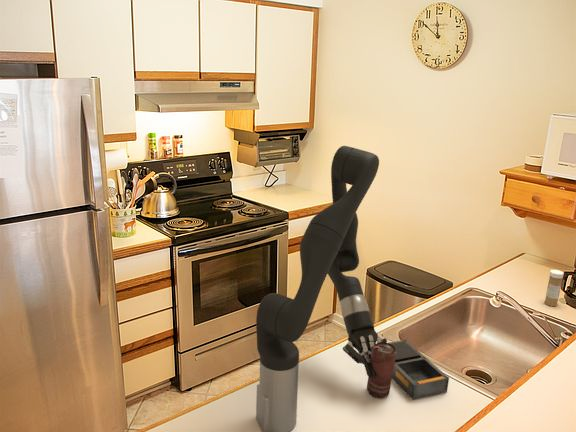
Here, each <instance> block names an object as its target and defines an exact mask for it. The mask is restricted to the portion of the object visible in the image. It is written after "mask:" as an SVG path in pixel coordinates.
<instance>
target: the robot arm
mask: <svg viewBox="0 0 576 432" xmlns="http://www.w3.org/2000/svg"><path fill="white" fill-rule="evenodd" d="M379 166H380V159H379V156H378V155H377V154H375V153H372V152H370V151H367V150H363V149H359V148H356V147H352V146H349V145H341V146H339V147H338V148H337V150H336V151H335V153H334V156H333V158H332V161H331V167H330V180H331V181H330V182H331V196H332V204H330V205H329V206H327V207H326V208H324V209H322V210H321V211H319V212H318V213H316V215H314V216H313V217H312V218H311V220H310V221H309V224H308V226H307V227H306V229H305V232H304V233H303V236H302V238H301V239H300V243H299V257H300V264H301V265H300V267H301V280H300V283H299V287H298V289H297V292H296V294H295V296H294V298H291V297H289V296H286V295H283V294H280V293H277V292H272V293H268V294H266V295H265V296H264V297H263V298H262V299H261V301H260V303H259V305H258V306H257V310H256V319H255V325H256V327H255V329H256V348H257V352H258V354H259V382H258V383H259V384H257V385H256V402H255V403H256V405H255V406H256V408H255V410H256V412H255V413H256V414H255V418H256V421H257V422H258V425H259V427H260V429H261V431H262V432H291V431H293V430H294V429H295V427H296V424H297V415H298V388H299V368H300V367H299V366H300V364H299V363H300V350H299V348H298V346H297V345H296V344H295V343H294V342H296V341H298V340H299V339H300V338H301V336H302V335H303V334H304V332H305V330H307V329H306V328H307V326H308V324H309V322H310V320H311V317H312V314H313V312H314V309H315V306H316V303H317V300H318V297H319V295H320V292H321V289H322V286H323V284H324V283H325V281H326V279H327V276H328V277H329V279H330V280H331V282H332V284H333V286H334V288H335V291H336V293H337V297H338V301H339V305H340V310H341V311H340V312H341V315H342V318H343V322H344V326H345V330H346V333H347V335H348V337H347V343H346V344H345V345H344V346H343V347H342V351H344V353H346V354H347V355H348V356H349V357H350V358H351V359H352V360H353V361H354V362H356V363H357V364H362V365H363V366H364V368H365V369H364V370H365V373H366V376H367V378H368V377H370V379H372V378H376V377H378V374H377V373H376V371H375V372H374V369H373V365H372V363H371V354H372V349H373V347H374V346H375V344H376V343H379V342H386V343H388V339H387V338H385V337H384V338H382V337H380V336H379V335H378V332H377V331H376V330H375V325H374V322H373V319H372V315H371V311H370V308H369V305H368V302H367V300H366V298H365V295H364V292H363V288H362V285H361V281H360V280H359V278H358V277H356V276H351V275H345V274H343V273H346V272H347V273H348V272H353V271H355V270H356V269H357V268H358V267H359V264H360V257H359V252H358V246H357V236H358V235H357V234H358V230H359V229H358V228H359V220H358V214H357V211H358V209H359V207H360V206H361V203H362V202H363V200H364V198H365V197H366V195H367V193H368V191H369V189H370V188H371V186H372V184H373V183H374V180H375V178H376V176H377V173H378V170H379ZM347 185H350V186H351V187H350V188H349V189H347Z"/></svg>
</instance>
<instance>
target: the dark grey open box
mask: <svg viewBox="0 0 576 432" xmlns="http://www.w3.org/2000/svg"><path fill="white" fill-rule="evenodd" d="M388 343H389V344H392V345H393V346H394V347H395V349H396V353H397V354H396V359H395V365H394V370H393V376H392V380H393V381H394V382H395V383H396V384H397V386H399V388H401V389H402V391H404V393H405V394H406V395H407V396H408V397H409V398H410V399H411V400H412V401H414V400H420V399H423V398H429V397H432V396H436V395H440V394H441V395H442V394H445V393H448V387H449V381H450V377H449V376H448V375H447V374H446V373H444V372H443V371H442V370H441V369H439V368H438V367H437V366H436V365H435V364H434V363H433V362H431V360H430V359H428V358H427V357H426V356H425V355H424V354H422V353H421V351H419V350H418V349H417V348H416V347H415V346H413V345H412V344H411V343H410V342H409V341H408V340H407V339H403V340H397V341H391V342H388Z"/></svg>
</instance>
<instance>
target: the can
mask: <svg viewBox="0 0 576 432" xmlns="http://www.w3.org/2000/svg"><path fill="white" fill-rule="evenodd" d="M389 343H390V342H387V343H386V342H379V343H377V342H376V344H375V346H374V347H373V349H372V354H371V363H372V365H373V369H374V372H375V371H376V373H377V374H378V377H376V378H372V379H370V377H368V376H367V382H366V383H367V384H366V390H367V393H368V394H369V395H370V396H371V397H373V398H376V399H384V398H387V397H388V396H389V395H390V392H391V386H392V382H393V381H392V380H393V379H392V376H393V370H394V365H395V359H396V354H397V353H396V349H395V347H394V346H393V345H392V344H389Z"/></svg>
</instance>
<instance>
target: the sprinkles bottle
mask: <svg viewBox="0 0 576 432" xmlns="http://www.w3.org/2000/svg"><path fill="white" fill-rule="evenodd" d="M563 278H564V272H563V271H562V270H559V269H550V271H549V277H548V283H547V284H548V285H547V288H546V292H545V299H544V304H545V305H547V306H549V307H557V306H558V302H559V298H560V297H559V296H560V292H561V287H562V283H563V282H562V280H563Z"/></svg>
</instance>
